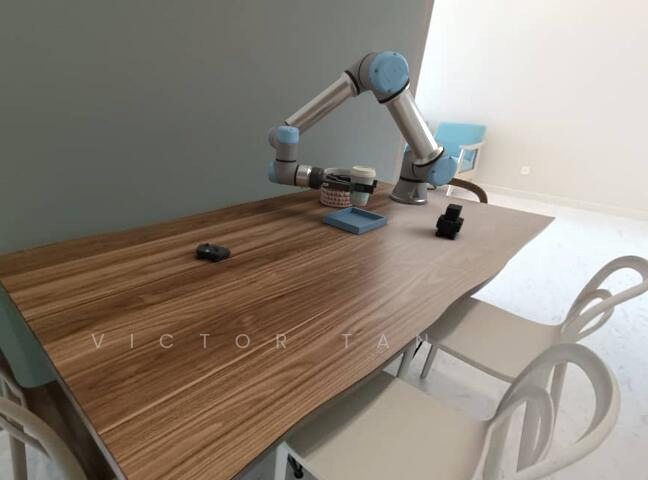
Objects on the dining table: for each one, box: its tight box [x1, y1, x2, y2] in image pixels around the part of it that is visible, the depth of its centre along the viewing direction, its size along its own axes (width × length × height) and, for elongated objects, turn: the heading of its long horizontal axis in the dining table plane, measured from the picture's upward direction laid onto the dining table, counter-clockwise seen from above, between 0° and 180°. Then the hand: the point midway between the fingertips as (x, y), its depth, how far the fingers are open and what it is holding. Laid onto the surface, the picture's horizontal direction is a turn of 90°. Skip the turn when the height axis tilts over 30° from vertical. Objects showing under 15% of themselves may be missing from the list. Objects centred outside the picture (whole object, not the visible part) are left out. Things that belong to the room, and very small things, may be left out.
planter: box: [319, 167, 354, 209], centre depth 159 cm, size 14×14×13 cm
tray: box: [322, 205, 388, 236], centre depth 142 cm, size 18×16×3 cm
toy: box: [435, 203, 465, 241], centre depth 137 cm, size 8×14×10 cm, turn 149°
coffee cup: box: [350, 165, 377, 207], centre depth 136 cm, size 8×8×12 cm
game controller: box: [195, 242, 232, 262], centre depth 110 cm, size 10×5×6 cm
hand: (375, 186), depth 134 cm, fingers closed on coffee cup, 8 cm apart
